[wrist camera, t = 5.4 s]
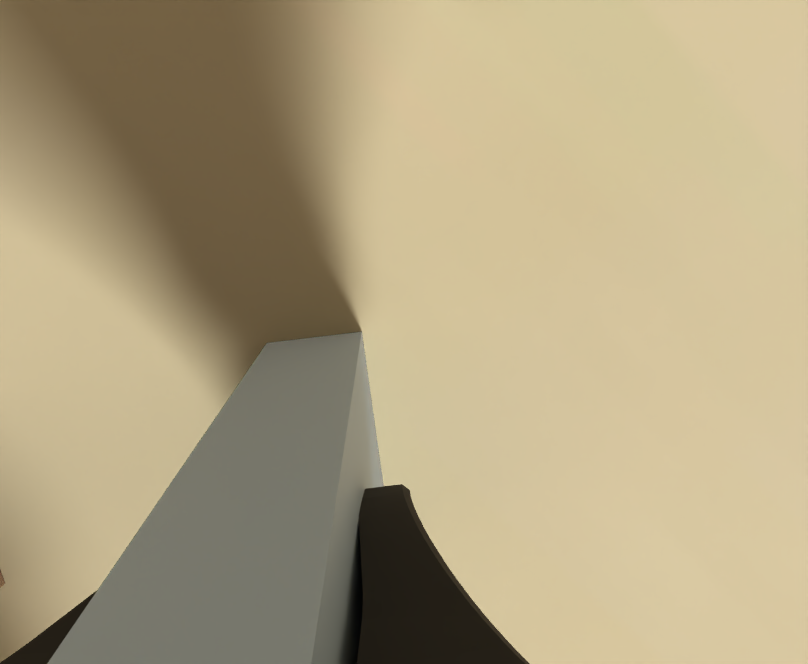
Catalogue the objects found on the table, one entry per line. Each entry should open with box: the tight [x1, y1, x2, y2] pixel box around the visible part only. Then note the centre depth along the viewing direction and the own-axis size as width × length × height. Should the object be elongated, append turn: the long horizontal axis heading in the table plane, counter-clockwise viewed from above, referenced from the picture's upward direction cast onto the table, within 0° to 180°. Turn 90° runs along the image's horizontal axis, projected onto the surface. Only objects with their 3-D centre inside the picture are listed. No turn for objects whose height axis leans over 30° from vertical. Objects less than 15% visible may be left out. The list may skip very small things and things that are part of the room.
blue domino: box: [47, 332, 384, 664], centre depth 9 cm, size 5×2×9 cm, turn 7°
